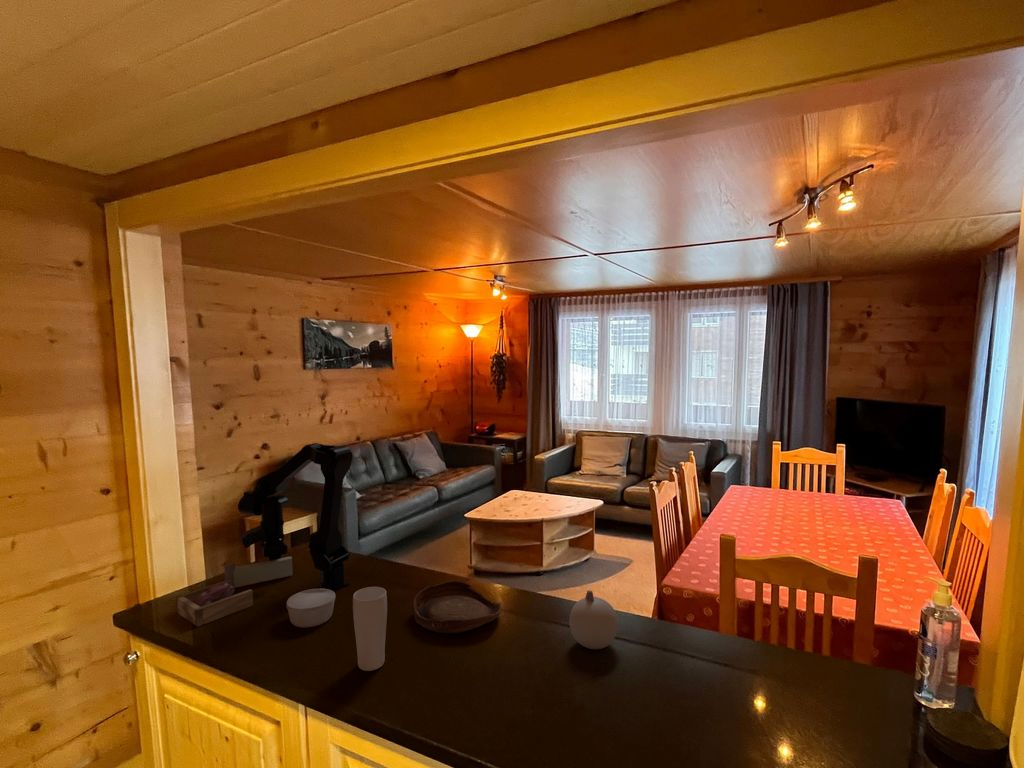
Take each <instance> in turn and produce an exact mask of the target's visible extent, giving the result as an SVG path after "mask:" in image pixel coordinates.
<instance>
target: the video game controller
mask: <svg viewBox="0 0 1024 768" xmlns="http://www.w3.org/2000/svg"><path fill="white" fill-rule="evenodd" d="M235 591H236V587H235V588H234V587H233V586H231V585H228V584H227V583H225V584H224V585H217V586H214V587H212V588H210V589H209V590H208V591H206V592H203V593H202V594H201V595H200V596H199V597H198V598H197V599H196V600H195V601H194V602H193V603H195V604H196V605H198V606H200V607H202V606H205V605H207V604H210V603H213V602H216V601H219V600H221V599H224V598H227V597H230V596H233V595H234V592H235ZM215 599H216V600H215ZM213 600H215V601H213Z"/></svg>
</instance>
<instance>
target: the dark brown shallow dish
mask: <svg viewBox="0 0 1024 768" xmlns="http://www.w3.org/2000/svg"><path fill="white" fill-rule="evenodd" d="M502 608H503V607H502V604H501V602H498V603H496V602H495V601H491V600H490V599H488V598H486V597H485V596H484V595H483V594H482V593H480V592H479V591H477V590H476V589H474V588H473V587H472V585H471V584H468V583H466V582H464V581H462V580H461V581H460V580H447V581H445V582H440V583H437V584H434V585H432V584H431V585H428V586H426V587H425V588H423V589H421V590H420V591H419V592H418V593H417V594H416V595H415V596H414V598H413V605H412V609H413V616H414V619H415V622H416V623H417V624H419V626H420V627H422V628H425V629H426V630H429V631H431V632H434V633H438V634H439V633H442V634H459V633H464V632H468V631H470V630H473V629H477V628H479V627H481V626H483V625H485V624H489V623H491V622H493V621H494V620H496V619H497V618H498V617H499V615H500V614H501V612H502V610H503V609H502Z"/></svg>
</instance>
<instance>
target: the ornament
mask: <svg viewBox="0 0 1024 768" xmlns="http://www.w3.org/2000/svg"><path fill="white" fill-rule="evenodd" d="M618 621H619V620H618V615H617V612H616V610H615V609H614V607H613V606H612V605H611V603H610V602H608V601H606V600H605V599H604V598H601V597H597V596H594V593H593V591H592V590H591V589H589V590H587V591H586V593H585V597H584V598H581V599H580V600H577V602H576V603H575V604H574V606H573V607H572V608H571V611H570V614H569V621H568V622H569V623H568V624H569V629H570V632H571V634H572V636H573V638H574V639H575V641H576V642H577V643H578V644H579V645H581V646H582V647H585V648H587V649H589V650H602V649H604V648H607V647H608V646H610V644H611V643H612V642H613V641H614V640H615V638H616V637H617V636H616V635H617V633H618V628H619V622H618Z"/></svg>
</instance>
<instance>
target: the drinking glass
mask: <svg viewBox="0 0 1024 768" xmlns="http://www.w3.org/2000/svg"><path fill="white" fill-rule="evenodd" d="M352 615H353V617H352V618H353V626H354V634H355V643H356V652H357V653H356V654H357V666H358V668H359V669H360V670H362V671H365V672H371V671H376V670H378V669H379V668H381V667H382V666H384V663H385V659H386V658H385V657H386V656H385V653H386V652H385V651H386V648H385V647H386V635H387V633H386V632H387V618H388V596H387V590H386V589H385V588H383V587H380V586H367V587H363V588H361V589H358V590H356V591H355V592H354V593H353V595H352Z"/></svg>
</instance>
